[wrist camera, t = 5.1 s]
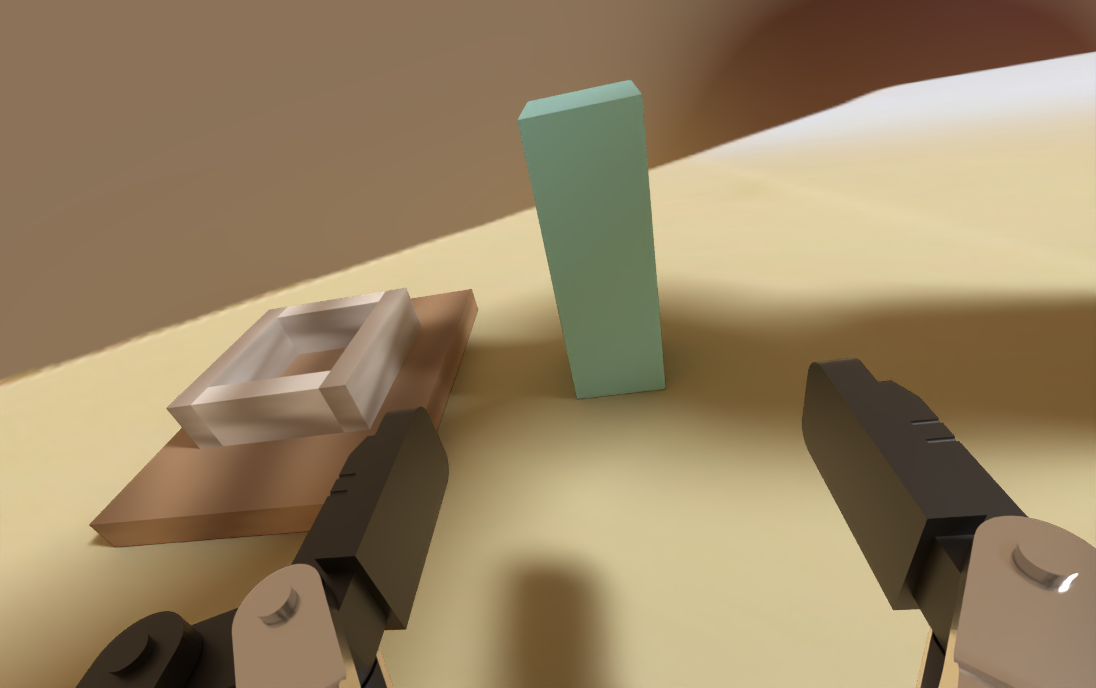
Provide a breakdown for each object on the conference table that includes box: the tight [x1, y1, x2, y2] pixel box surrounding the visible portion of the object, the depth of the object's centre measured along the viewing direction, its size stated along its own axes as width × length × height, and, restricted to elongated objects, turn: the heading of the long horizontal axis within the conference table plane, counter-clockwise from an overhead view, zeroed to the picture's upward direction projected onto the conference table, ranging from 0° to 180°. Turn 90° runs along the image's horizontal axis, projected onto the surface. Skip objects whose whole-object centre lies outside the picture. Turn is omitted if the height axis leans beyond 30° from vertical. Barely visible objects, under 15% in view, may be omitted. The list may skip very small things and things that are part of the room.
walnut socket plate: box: [89, 288, 478, 547], centre depth 25 cm, size 13×16×4 cm
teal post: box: [518, 80, 666, 399], centre depth 20 cm, size 4×4×12 cm
